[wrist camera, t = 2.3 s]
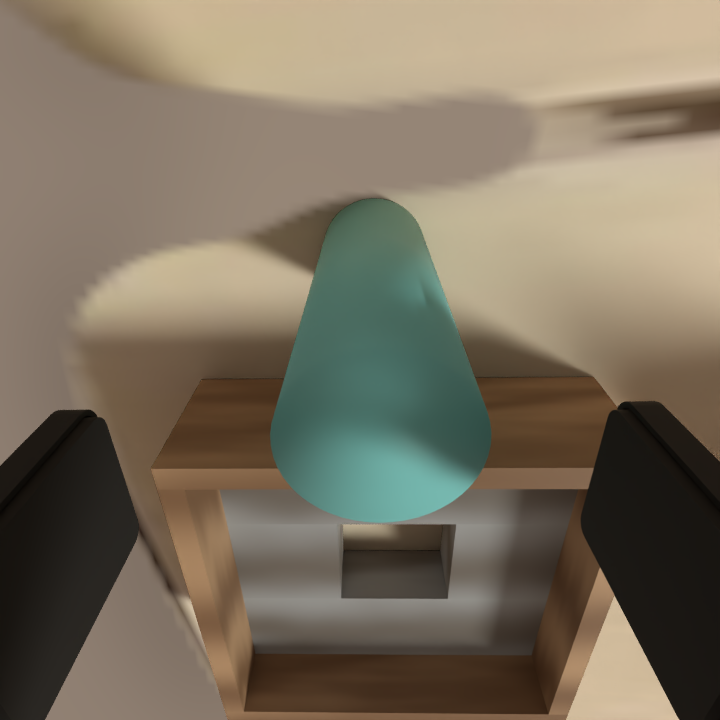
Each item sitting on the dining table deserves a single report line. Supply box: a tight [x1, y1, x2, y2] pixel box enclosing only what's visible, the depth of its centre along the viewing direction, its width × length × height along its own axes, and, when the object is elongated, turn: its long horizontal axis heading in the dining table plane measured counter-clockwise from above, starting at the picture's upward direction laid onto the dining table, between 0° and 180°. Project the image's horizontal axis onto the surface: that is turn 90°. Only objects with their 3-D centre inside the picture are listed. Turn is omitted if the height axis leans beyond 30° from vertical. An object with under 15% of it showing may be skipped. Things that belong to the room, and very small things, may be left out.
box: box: [151, 377, 617, 720], centre depth 24 cm, size 18×18×6 cm
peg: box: [270, 198, 491, 523], centre depth 14 cm, size 4×4×12 cm
